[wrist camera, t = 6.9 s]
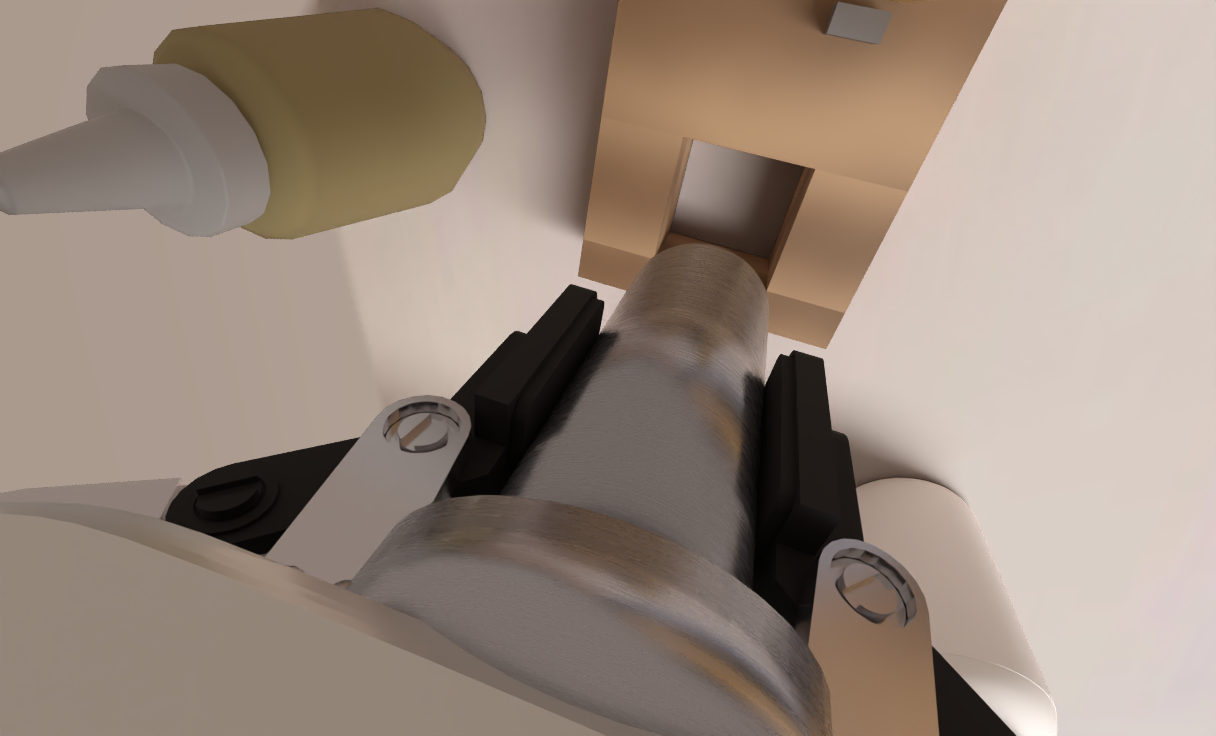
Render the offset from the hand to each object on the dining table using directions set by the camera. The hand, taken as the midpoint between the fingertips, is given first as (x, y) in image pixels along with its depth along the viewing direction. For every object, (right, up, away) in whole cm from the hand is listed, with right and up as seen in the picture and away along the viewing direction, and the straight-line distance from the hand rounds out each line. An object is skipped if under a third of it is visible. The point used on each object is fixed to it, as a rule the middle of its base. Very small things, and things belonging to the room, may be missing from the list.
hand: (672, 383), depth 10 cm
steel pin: (+1, +2, +3) cm, 3 cm away
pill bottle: (+17, -9, +21) cm, 29 cm away
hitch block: (+5, +11, +12) cm, 17 cm away
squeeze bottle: (-10, +14, +16) cm, 23 cm away
